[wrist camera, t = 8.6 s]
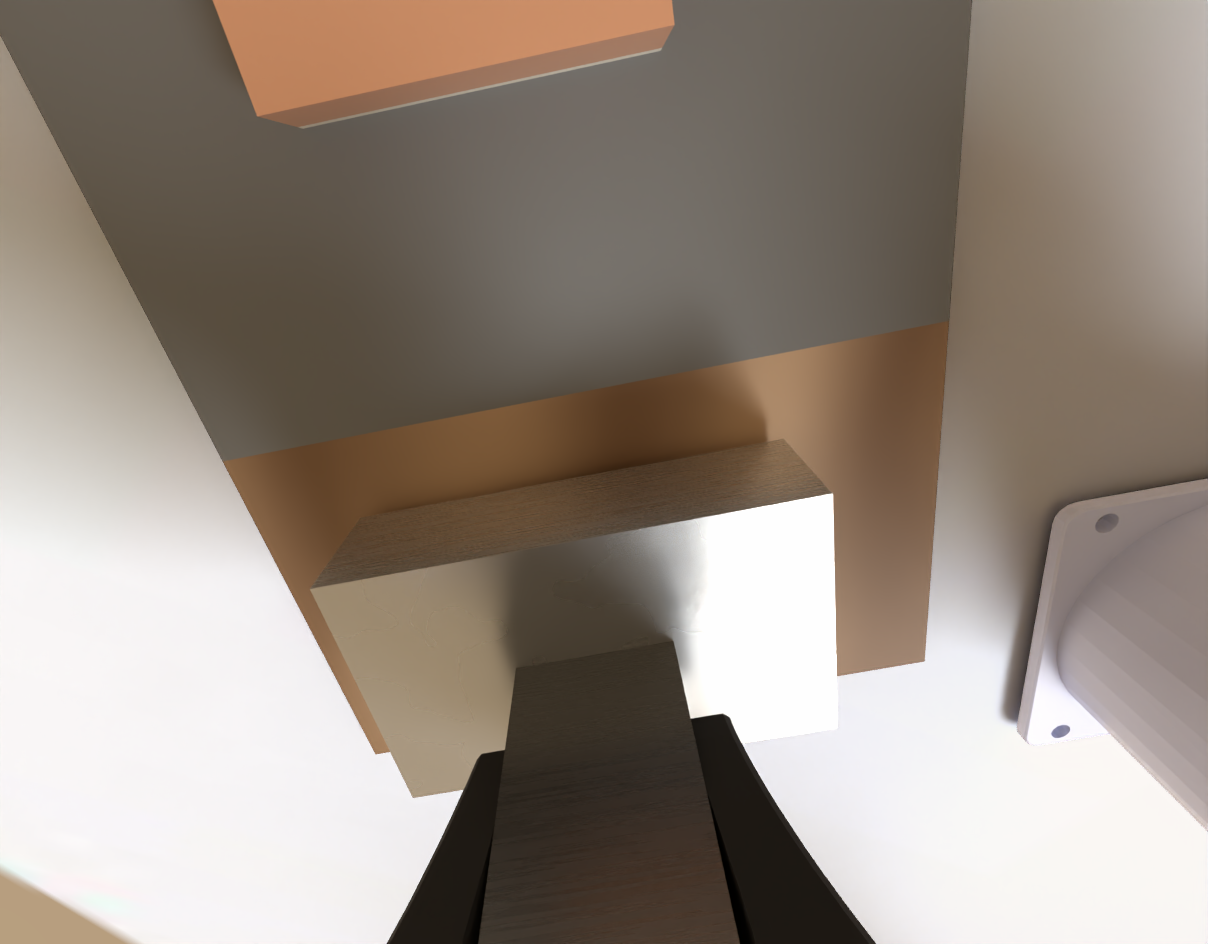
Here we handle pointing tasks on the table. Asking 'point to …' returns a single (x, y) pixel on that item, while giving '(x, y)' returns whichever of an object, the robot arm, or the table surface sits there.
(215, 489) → the table surface
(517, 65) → the tile
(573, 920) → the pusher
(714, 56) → the rubber mat
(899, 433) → the board
